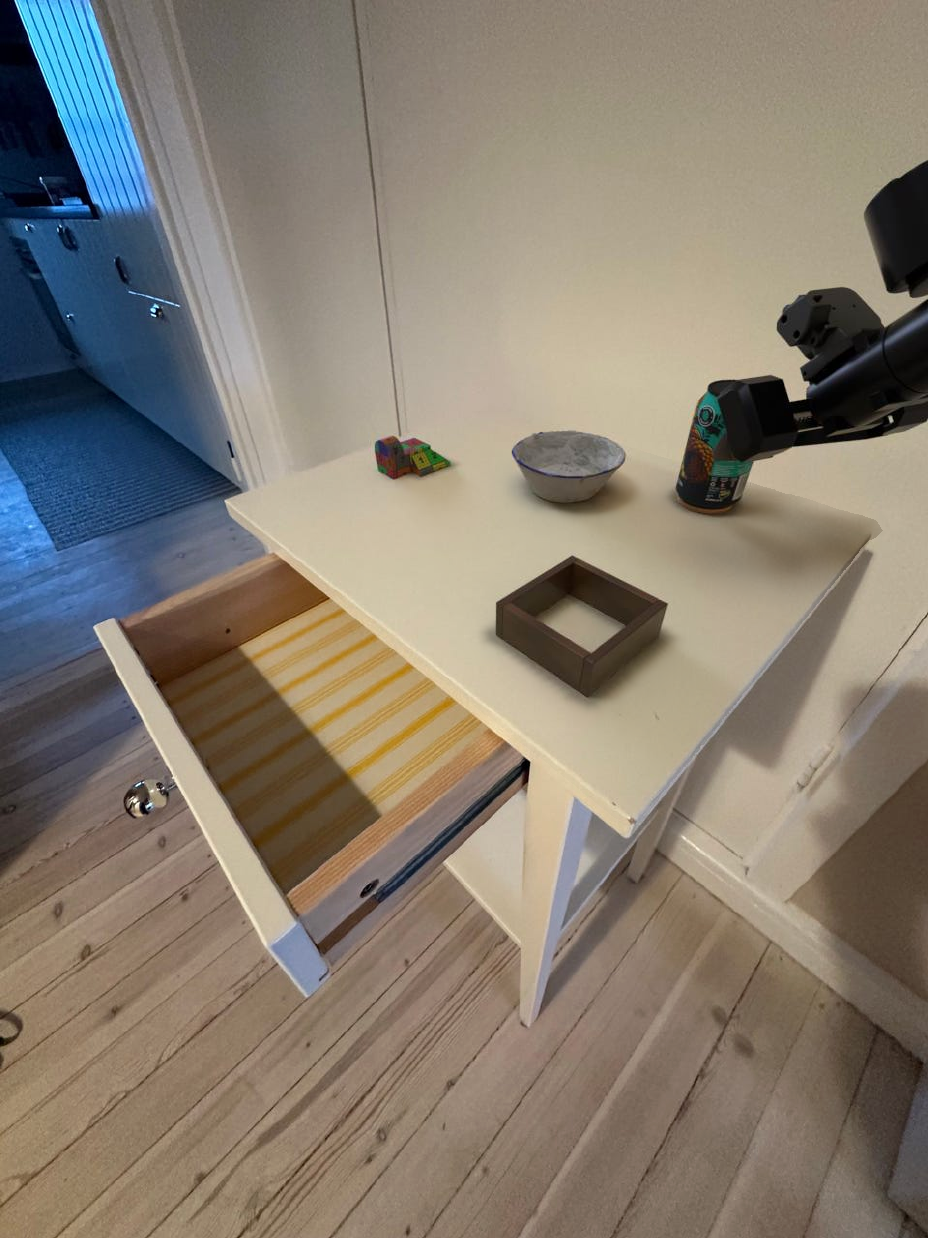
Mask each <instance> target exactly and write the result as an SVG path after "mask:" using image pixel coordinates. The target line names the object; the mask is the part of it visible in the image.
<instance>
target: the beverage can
mask: <svg viewBox="0 0 928 1238" xmlns="http://www.w3.org/2000/svg"><path fill="white" fill-rule="evenodd" d="M736 380H737V379H720V380H714V381H712V382H710V383H709V384H708V385H707V388H706V389H707V390H706V391H705V393H704V394H703V395H702V396H700V398H699V399H698V400H697V402H696V405H695V409H694V413H693V416H692V421H691V425H690V428H689V433H688V436H687V440H686V445H685V449H684V453H683V457H682V460H681V465H680V468H679V473H678V476H677V480H676V483H675V491H676V493H677V495H678V494H679V496H680V497H681V499H682V500H683V501H685V502H686V503H688V504H690V505H692V506H695V507H698V508H703V509H710V510H717V509H724V508H728V507H730V506H732V507H733V505H735V504H737V503H738V502H740V501H741V499H742V497H743V495H744V491H745V488H746V486H747V483H748V480H749V477H750V474H751V471H752V468H753V465H754V462H755V461H752V462H744V463H741V462H740V461H718V462H716V461H715V460H714V457H713V454H712V451H713V449H714V448H715V446H716V445H717V443H718V442H719V440H720V438H721V437H722V435H723V434H724V432H725V431H726V428H725V425H724V421H723V418H722V414H721V411H720V407H719V404H718V401H717V399H718V397H719V395H720V393H721V392H722V391H723V390H724V389H726V388H727V387H728V386H730V385H731V384H732V383H733V382H735V381H736Z"/></svg>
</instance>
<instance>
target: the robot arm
mask: <svg viewBox="0 0 928 1238" xmlns="http://www.w3.org/2000/svg"><path fill="white" fill-rule="evenodd" d="M863 220H864V223H865V226H866V230H867V233H868V236H869V239H870V242H871V245H872V248H873V252H874V255H875V258H876V262H877V264H878V268H879V271H880V274H881V277H882V281H883V284H884V287H885V291H886V292H887V293H888V294H893V295H895V294H902V293H905V292H906V293H907V292H908V295H909V297H910V298H912V299H919V298H923V297H925V296H928V159H927V160H925V161H923V162H921V163H919V164H918V165H916V166H915V167H913V168H911V169H909V170H908V171H907V172H905V173H904V174H903V175H901V176H900V177H895V178H893V179H891V180H890V181H889V182H887V183H886V184H885V185H884V186H883V187H882V188H881V189H880V190H879V191H878V192H877V193H876V194H875V195H874V196H873V197H872V199H871V200H870V201H869V203H868V204H867V205H866V207H865V209H864V212H863ZM776 332H777V333H778V334H779V335H780V337H781V338H782V340H783V341H784V342H785V343H786V344H787V345H788V347H790V348H793V347H797V348H798V350H799V351H800V352H801V353H802V354H803V356H804V357H805V358H806V359H808V360H809V361H807V362H806V363H804V364H803V365H802V366H800V367H799V370H800V374H801V377H802V380H803V382H805V383H806V382H808V384H809V386H807V388H806V390H805V391H806V393H805V397H806V398H804V399H798V400H791V401H790V398H789V396H788V391H787V388H786V385H785V381H784V378H781V377H778V376H775V375H773V374H767V375H761V376H753V377H748V378H747V377H746V378H740V379H735V380H736V381H735V382H733V383H732V384H731V385H730V386H728V387H727V388H726V389H724V390H723V391H722V392H721V393H720V395H719V397H718V399H717V401H718V404H719V407H720V411H721V414H722V418H723V421H724V425H725V428H726V431H725V432H724V434H723V435H722V437H721V438H720V440H719V442H718V443H717V445H716V446H715V448H714V449H713V451H712V454H713V457H714V460H715V461H716V462H718V461H740V462H741V463H744V462H752V461H754V462H758V461H763V460H767V459H772V458H774V456H777V455H779V454H782V453H784V452H786V451H788V450H790V449H792V448H798V447H807V446H819V445H828V444H836V443H843V442H845V443H847V442H856V441H864V440H871V439H876V438H882V437H887V436H889V435H895V434H899V433H904V432H907V431H910V430H911V429H914V428H916V427H918V426H920V425H923V424H924V423H927V422H928V298H927V299H925V300H923V301H922V302H921V303H919V304H917V305H916V306H915V307H913V308H912V309H910V310H909V311H907V312H905V313H904V314H903V315H901V316H899V317H898V318H897V319H895V320H894V321H892V322H891V323H889V324H888V325H886V326H885V325H884V324H883V323H882V319H881V317H880V316H879V315H878V314H877V312H876V311H874V310H873V308H872V307H871V306H870V305H869V304H868V303H867V302H866V301H865V300H864V299H863V298H862V297H861V295H860V294H858V292H857V291H855V290H853V289H851V288H850V287H845V286H838V287H830V288H828V287H827V288H819V289H811V290H809V291H807V293H806V294H799V295H798V296H797V297H796V298H795V300H794V301H793V302H792V303H790V304H786V305H785V306H783V308H782V311H781V315H780V316H779V318H778V319H777V322H776ZM890 417H891V418H892V422H891V420H890Z"/></svg>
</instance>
